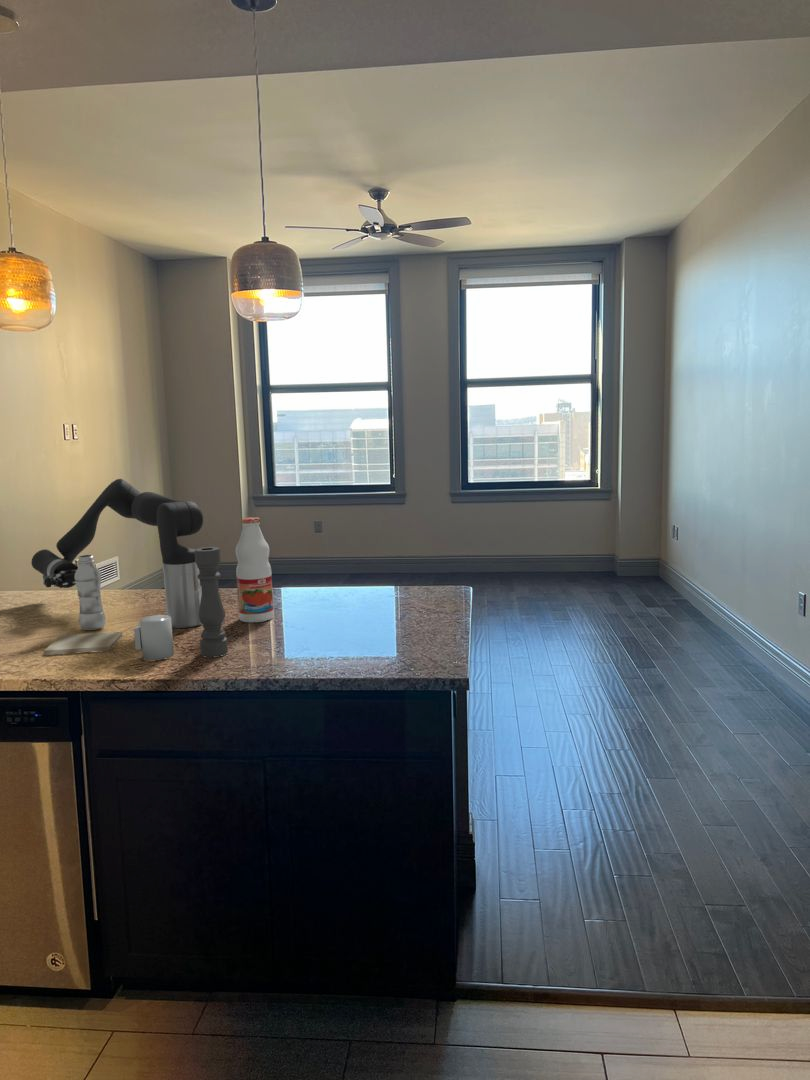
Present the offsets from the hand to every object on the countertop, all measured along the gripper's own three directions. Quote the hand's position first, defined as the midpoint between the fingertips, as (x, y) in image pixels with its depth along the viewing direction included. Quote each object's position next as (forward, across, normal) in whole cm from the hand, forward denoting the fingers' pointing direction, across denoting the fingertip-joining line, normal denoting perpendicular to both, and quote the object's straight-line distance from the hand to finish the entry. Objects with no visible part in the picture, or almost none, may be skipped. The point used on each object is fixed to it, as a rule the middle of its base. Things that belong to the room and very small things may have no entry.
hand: (78, 581), depth 208 cm
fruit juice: (+32, +38, +11) cm, 51 cm away
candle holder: (+54, +16, +11) cm, 57 cm away
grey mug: (+47, +5, +11) cm, 48 cm away
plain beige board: (+25, -6, +11) cm, 28 cm away
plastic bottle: (+11, 0, +11) cm, 16 cm away
